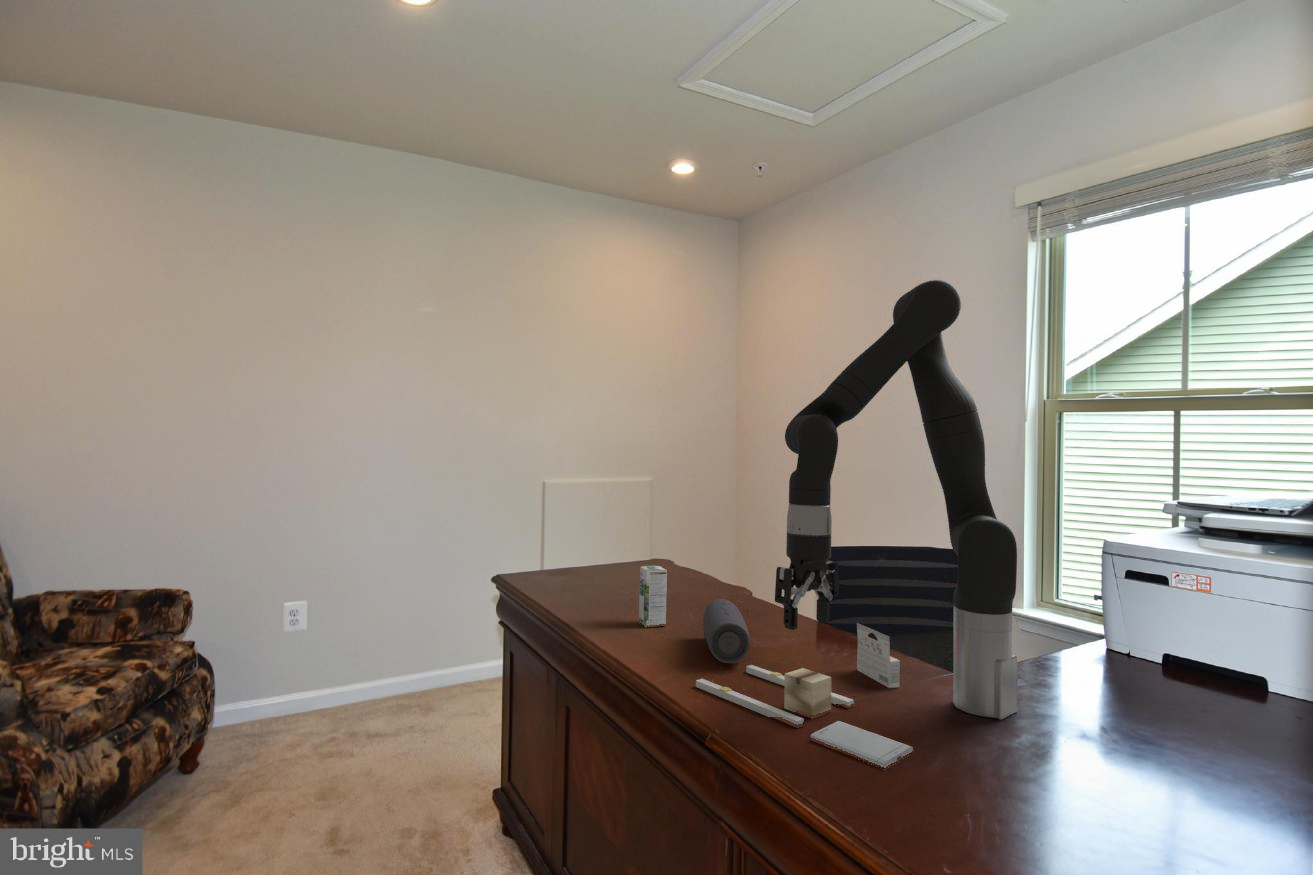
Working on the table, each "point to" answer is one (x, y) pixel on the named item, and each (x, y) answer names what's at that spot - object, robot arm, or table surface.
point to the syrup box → (652, 595)
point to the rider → (807, 691)
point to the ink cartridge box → (877, 657)
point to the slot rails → (758, 705)
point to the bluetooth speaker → (725, 631)
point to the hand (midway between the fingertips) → (807, 625)
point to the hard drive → (862, 743)
